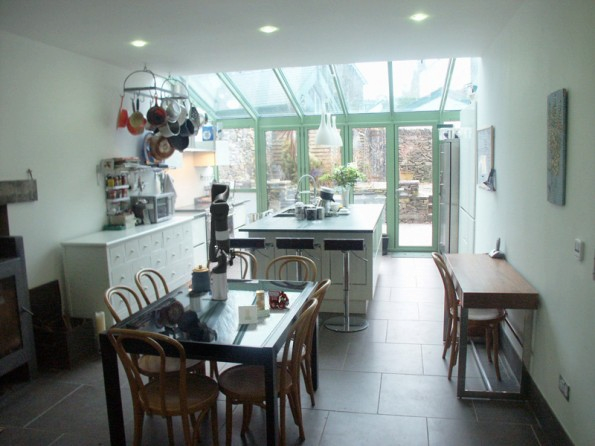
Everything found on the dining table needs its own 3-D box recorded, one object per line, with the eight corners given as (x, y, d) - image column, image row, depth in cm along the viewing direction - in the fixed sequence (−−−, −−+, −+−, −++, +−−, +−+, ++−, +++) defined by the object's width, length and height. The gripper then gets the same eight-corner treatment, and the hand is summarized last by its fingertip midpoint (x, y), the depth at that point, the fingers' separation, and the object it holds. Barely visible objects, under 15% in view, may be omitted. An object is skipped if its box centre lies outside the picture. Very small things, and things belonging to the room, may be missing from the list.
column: (257, 309, 282) (256, 292, 281) (256, 307, 287) (256, 290, 286) (264, 309, 283) (264, 292, 282) (264, 307, 287) (264, 290, 286)
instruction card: (238, 324, 269) (238, 306, 268) (238, 322, 272) (238, 304, 271) (257, 323, 270) (256, 305, 269) (257, 321, 273) (256, 304, 272)
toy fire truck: (287, 309, 294) (287, 292, 293) (267, 309, 296) (266, 292, 294) (289, 306, 301) (289, 289, 299) (269, 305, 303) (269, 289, 301)
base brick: (257, 318, 280) (257, 311, 280) (251, 314, 287) (251, 307, 286) (270, 315, 284) (269, 308, 284) (263, 312, 291) (263, 305, 290)
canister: (195, 287, 349) (194, 262, 346) (213, 287, 347) (212, 262, 345) (189, 292, 336) (187, 266, 334) (207, 292, 334) (206, 267, 332)
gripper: (236, 237, 277) (239, 264, 282) (218, 233, 285) (221, 260, 290) (227, 241, 271) (230, 268, 276) (208, 237, 279) (211, 264, 284)
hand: (225, 264), depth 283 cm, fingers open, 8 cm apart
